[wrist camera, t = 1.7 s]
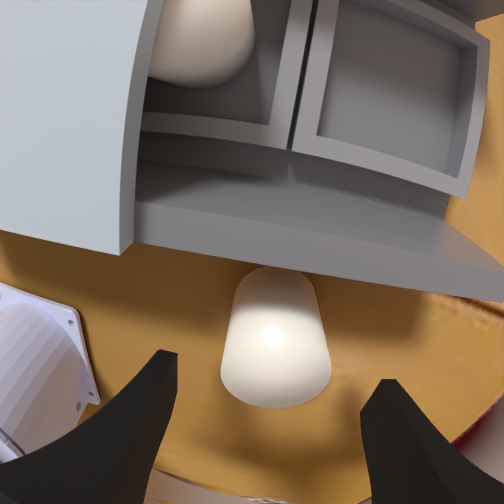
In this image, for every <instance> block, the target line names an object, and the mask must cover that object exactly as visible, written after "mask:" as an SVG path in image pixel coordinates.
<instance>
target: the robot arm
mask: <svg viewBox="0 0 504 504" xmlns="http://www.w3.org/2000/svg"><path fill="white" fill-rule="evenodd" d="M0 311H1V313H0V504H143V502H144V497H145V493H146V488H147V484H148V480H149V475H150V472H151V469H152V466H153V463H154V460H155V458H156V455H157V452H158V450H159V447H160V444H161V442H162V439H163V436H164V434H165V431H166V428H167V426H168V423H169V420H170V418H171V415H172V411H173V407H174V403H175V398H176V394H177V357H178V353H174V352H170V351H165V350H161V349H160V350H158V351H156V353H155V354H154V355H153V356H152V358H151V359H150V360H149V361H148V362H147V364H146V365H145V366H144V367H143V368H142V369H141V370H140V371H139V373H138V374H137V375H136V376H135V377H134V378H133V379H132V380H131V381H130V382H129V383H128V384H127V385H126V386H125V387H124V388H123V389H122V390H121V391H120V392H119V393H118V394H117V395H116V396H115V397H113V398H112V399H111V400H110V401H109V402H108V403H107V404H106V405H104V406H103V407H102V408H101V409H100V410H99V411H97V412H96V413H95V414H94V415H92V416H91V417H90V418H88V419H87V420H86V421H84V422H83V423H82V424H80V425H79V426H77V427H76V425H77V423H78V421H79V419H80V417H81V415H82V413H83V411H84V410H85V408H86V406H87V404H88V402H89V403H92V404H94V405H99V403H100V401H101V400H100V397H99V394H98V390H97V387H96V384H95V380H94V377H93V373H92V369H91V366H90V362H89V358H88V354H87V350H86V345H85V341H84V336H83V332H82V327H81V322H80V317H79V314H78V312H77V310H76V309H74V308H72V307H69V306H66V305H63V304H60V303H57V302H54V301H51V300H48V299H45V298H42V297H39V296H36V295H33V294H30V293H27V292H25V291H22V290H19V289H16V288H14V287H11V286H8V285H6V284H3V283H1V282H0ZM360 420H361V435H362V441H363V446H364V451H365V457H366V462H367V467H368V472H369V478H370V484H371V492H372V504H504V484H503V483H501V482H499V481H498V480H496V479H495V478H493V477H491V476H489V475H488V474H487V473H485V472H483V471H482V470H481V469H479V468H478V467H477V466H475V465H474V464H473V463H471V462H470V461H469V460H468V459H466V458H465V457H464V456H463V455H462V454H461V453H460V452H459V451H458V450H457V449H455V448H454V447H453V446H452V445H451V444H450V443H449V442H448V441H447V439H446V438H445V437H444V436H443V435H442V434H441V433H440V432H439V431H438V430H437V429H436V427H435V426H434V425H433V424H432V423H431V422H430V420H429V419H428V418H427V417H426V416H425V414H424V413H423V412H422V411H421V409H420V408H419V407H418V406H417V404H416V403H415V402H414V401H413V399H412V398H411V397H410V396H409V394H408V393H407V392H406V391H405V390H404V388H403V387H402V386H401V385H400V384H399V383H398V381H397V380H396V379H381V381H380V383H379V384H378V386H377V387H376V389H375V391H374V392H373V394H372V395H371V397H370V398H369V400H368V401H367V403H366V404H365V406H364V407H363V409H362V410H361V412H360ZM75 427H76V428H75Z"/></svg>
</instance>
